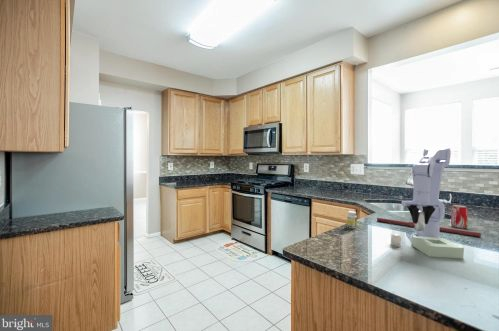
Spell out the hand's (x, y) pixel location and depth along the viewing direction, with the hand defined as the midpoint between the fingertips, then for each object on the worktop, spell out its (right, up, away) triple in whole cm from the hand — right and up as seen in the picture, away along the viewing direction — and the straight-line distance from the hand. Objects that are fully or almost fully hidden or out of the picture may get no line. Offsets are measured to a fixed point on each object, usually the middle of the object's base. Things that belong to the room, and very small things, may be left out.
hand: (420, 223), depth 103 cm
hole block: (+3, -10, -5) cm, 12 cm away
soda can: (+44, -10, +32) cm, 56 cm away
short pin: (-10, -10, +1) cm, 14 cm away
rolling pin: (+22, -10, +28) cm, 37 cm away
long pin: (0, -3, 0) cm, 3 cm away
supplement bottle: (-18, -9, +27) cm, 34 cm away
